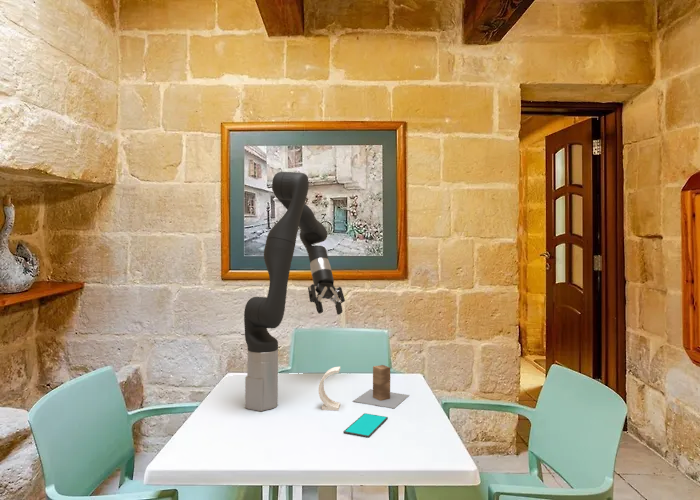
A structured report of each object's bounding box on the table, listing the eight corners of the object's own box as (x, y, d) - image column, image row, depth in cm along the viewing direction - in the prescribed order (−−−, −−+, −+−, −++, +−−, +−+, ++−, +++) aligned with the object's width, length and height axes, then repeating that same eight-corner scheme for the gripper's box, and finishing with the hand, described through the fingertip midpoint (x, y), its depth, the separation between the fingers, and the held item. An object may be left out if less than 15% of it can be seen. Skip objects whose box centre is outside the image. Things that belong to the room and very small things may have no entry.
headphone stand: (338, 410, 138) (338, 370, 138) (318, 409, 138) (318, 369, 138) (340, 405, 142) (340, 366, 142) (320, 404, 143) (321, 365, 143)
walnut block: (380, 400, 146) (380, 369, 146) (372, 397, 150) (373, 366, 150) (390, 398, 148) (390, 367, 148) (382, 395, 152) (383, 364, 152)
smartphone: (342, 431, 121) (364, 413, 135) (342, 434, 121) (364, 416, 135) (369, 436, 118) (388, 416, 132) (369, 439, 118) (388, 419, 132)
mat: (394, 408, 140) (394, 408, 140) (352, 401, 146) (352, 401, 146) (409, 395, 152) (409, 395, 152) (370, 389, 158) (370, 389, 158)
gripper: (311, 266, 165) (320, 308, 158) (342, 270, 174) (352, 310, 167) (300, 275, 170) (308, 316, 163) (330, 278, 179) (339, 317, 172)
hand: (330, 313), depth 165 cm, fingers open, 8 cm apart
